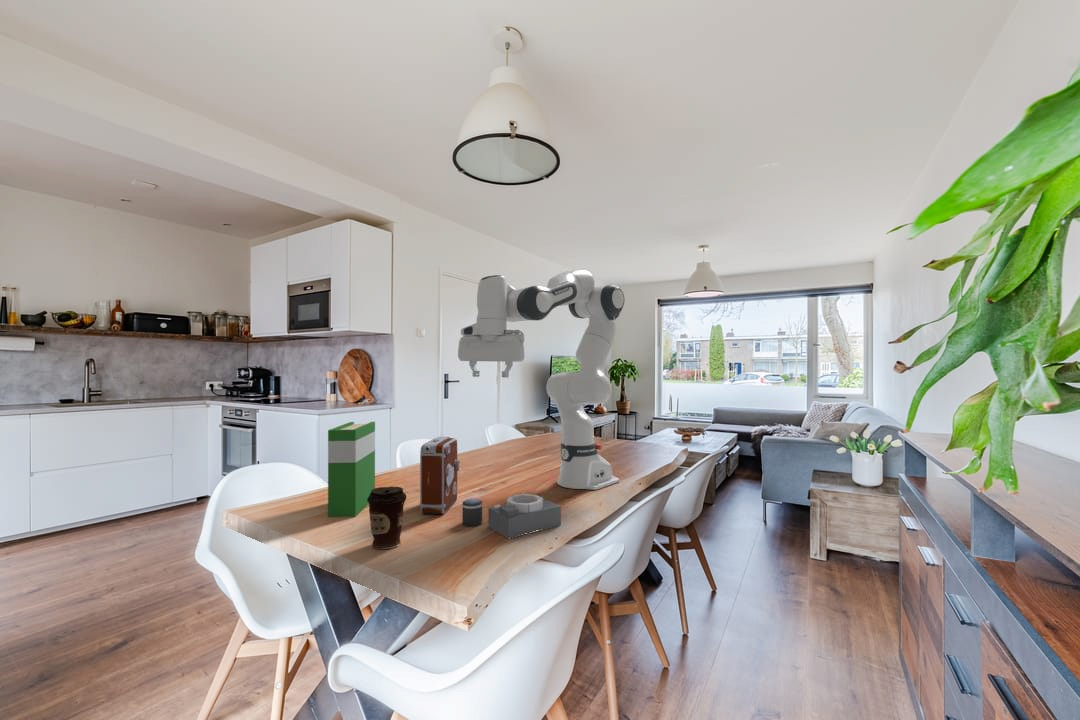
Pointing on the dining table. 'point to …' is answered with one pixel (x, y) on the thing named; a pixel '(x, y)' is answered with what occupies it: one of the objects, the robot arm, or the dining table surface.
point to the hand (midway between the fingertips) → (490, 377)
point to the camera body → (523, 515)
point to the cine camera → (438, 475)
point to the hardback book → (350, 468)
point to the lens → (472, 512)
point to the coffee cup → (386, 516)
